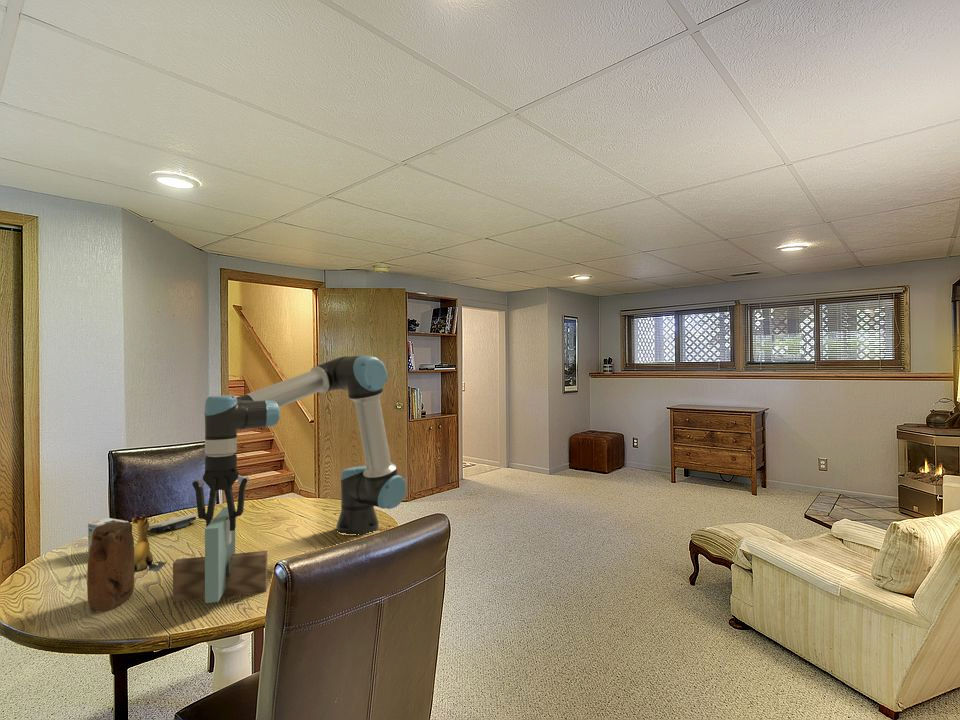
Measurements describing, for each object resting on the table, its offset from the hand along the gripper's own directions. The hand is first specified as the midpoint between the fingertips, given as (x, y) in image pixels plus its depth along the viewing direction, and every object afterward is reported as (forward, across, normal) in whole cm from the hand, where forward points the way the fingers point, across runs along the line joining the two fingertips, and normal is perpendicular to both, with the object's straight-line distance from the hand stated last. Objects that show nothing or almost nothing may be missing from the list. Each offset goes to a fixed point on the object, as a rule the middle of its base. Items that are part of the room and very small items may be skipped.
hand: (221, 543), depth 134 cm
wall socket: (+14, +26, -64) cm, 70 cm away
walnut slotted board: (+14, 0, 0) cm, 14 cm away
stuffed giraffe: (+14, +29, -26) cm, 41 cm away
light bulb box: (+14, +42, -42) cm, 61 cm away
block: (+14, +26, -2) cm, 29 cm away
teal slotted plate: (+11, 0, 0) cm, 11 cm away
